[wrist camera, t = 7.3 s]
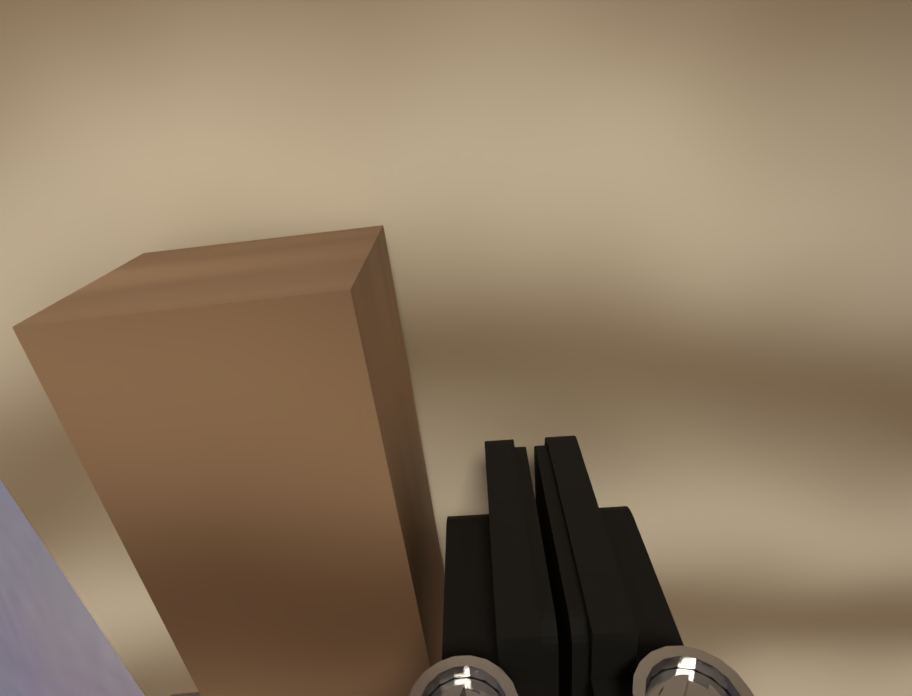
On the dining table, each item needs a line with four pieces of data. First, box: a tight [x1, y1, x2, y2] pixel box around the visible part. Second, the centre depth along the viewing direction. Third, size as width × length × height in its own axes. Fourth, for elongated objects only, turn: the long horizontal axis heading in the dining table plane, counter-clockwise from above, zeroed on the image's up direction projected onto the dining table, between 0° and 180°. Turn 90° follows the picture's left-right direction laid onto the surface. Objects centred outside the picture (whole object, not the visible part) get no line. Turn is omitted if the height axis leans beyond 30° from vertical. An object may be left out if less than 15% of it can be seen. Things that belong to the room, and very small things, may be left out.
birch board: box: [0, 0, 912, 696], centre depth 15 cm, size 32×22×2 cm
